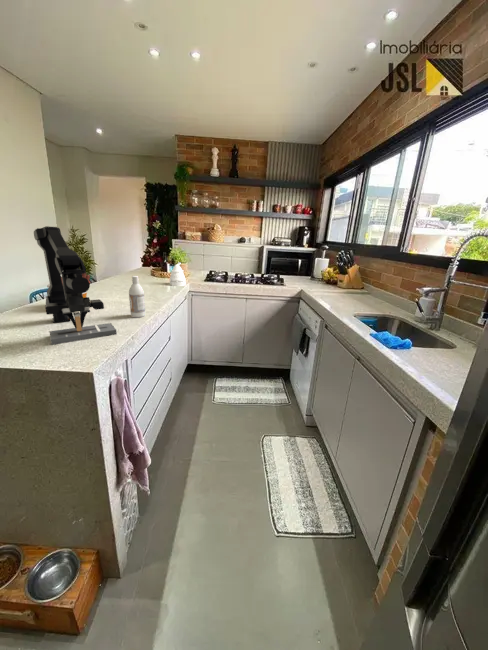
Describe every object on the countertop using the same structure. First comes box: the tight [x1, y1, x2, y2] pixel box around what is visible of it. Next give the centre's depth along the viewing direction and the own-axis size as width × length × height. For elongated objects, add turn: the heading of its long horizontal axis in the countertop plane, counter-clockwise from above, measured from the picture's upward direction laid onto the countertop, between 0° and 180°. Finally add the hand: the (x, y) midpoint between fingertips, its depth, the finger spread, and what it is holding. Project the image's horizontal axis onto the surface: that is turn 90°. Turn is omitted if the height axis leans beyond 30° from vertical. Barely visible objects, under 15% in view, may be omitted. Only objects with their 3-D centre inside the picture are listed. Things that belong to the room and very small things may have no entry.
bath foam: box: [128, 275, 146, 318], centre depth 131 cm, size 7×7×20 cm
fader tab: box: [73, 311, 82, 331], centre depth 104 cm, size 3×2×7 cm, turn 37°
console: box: [48, 322, 118, 346], centre depth 106 cm, size 10×22×2 cm, turn 127°
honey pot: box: [169, 262, 187, 287], centre depth 217 cm, size 13×13×18 cm
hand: (78, 327), depth 104 cm, fingers closed on fader tab, 2 cm apart
